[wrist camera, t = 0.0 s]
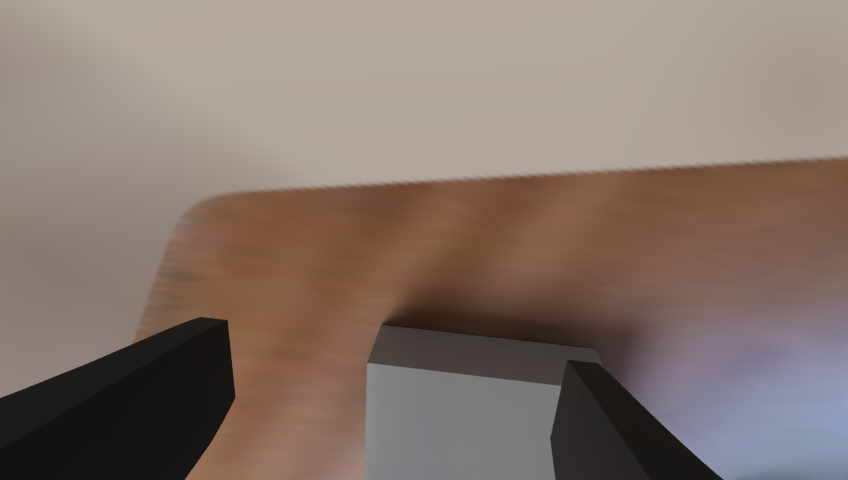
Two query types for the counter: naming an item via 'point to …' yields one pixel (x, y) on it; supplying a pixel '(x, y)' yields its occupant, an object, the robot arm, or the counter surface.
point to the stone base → (462, 405)
